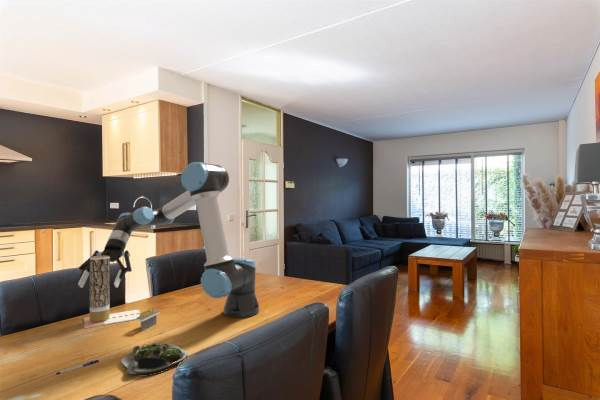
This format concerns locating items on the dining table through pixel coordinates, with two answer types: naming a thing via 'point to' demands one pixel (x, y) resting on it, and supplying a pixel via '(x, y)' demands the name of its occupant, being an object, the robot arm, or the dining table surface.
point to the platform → (148, 319)
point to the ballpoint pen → (79, 366)
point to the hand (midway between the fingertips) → (97, 286)
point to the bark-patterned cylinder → (99, 288)
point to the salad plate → (153, 358)
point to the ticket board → (113, 318)
